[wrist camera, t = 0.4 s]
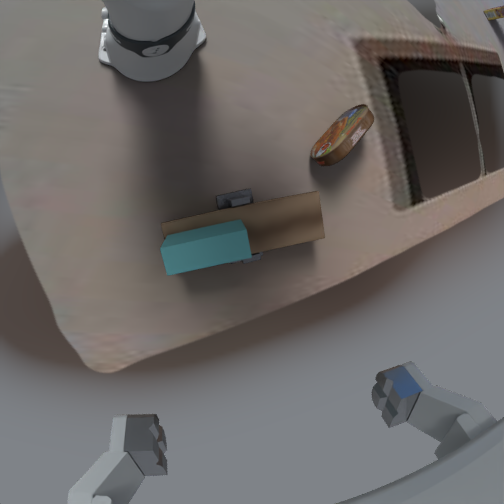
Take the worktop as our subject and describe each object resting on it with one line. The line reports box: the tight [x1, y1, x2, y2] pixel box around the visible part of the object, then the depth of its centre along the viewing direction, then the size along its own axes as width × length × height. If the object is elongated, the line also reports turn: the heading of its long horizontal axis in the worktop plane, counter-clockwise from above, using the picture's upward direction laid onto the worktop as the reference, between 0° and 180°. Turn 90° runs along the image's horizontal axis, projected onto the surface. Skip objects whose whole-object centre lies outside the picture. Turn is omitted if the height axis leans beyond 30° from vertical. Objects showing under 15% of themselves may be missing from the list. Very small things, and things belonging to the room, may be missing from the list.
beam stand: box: [216, 189, 263, 264], centre depth 54 cm, size 12×16×5 cm
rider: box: [160, 219, 252, 276], centre depth 46 cm, size 4×12×8 cm, turn 101°
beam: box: [161, 191, 325, 254], centre depth 52 cm, size 8×26×2 cm, turn 101°
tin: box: [310, 104, 374, 166], centre depth 52 cm, size 15×3×8 cm, turn 137°
